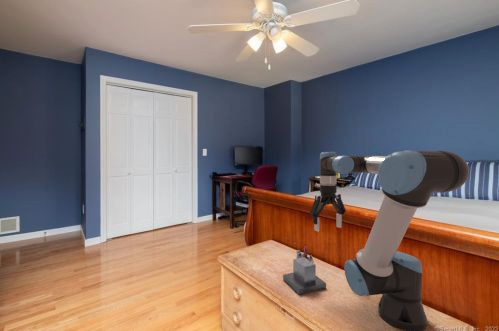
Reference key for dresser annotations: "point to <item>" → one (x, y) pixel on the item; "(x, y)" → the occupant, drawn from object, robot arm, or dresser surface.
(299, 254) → the grey red bumpy cluster
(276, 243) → the dresser surface
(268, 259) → the dresser surface
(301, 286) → the steel plate
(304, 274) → the block
